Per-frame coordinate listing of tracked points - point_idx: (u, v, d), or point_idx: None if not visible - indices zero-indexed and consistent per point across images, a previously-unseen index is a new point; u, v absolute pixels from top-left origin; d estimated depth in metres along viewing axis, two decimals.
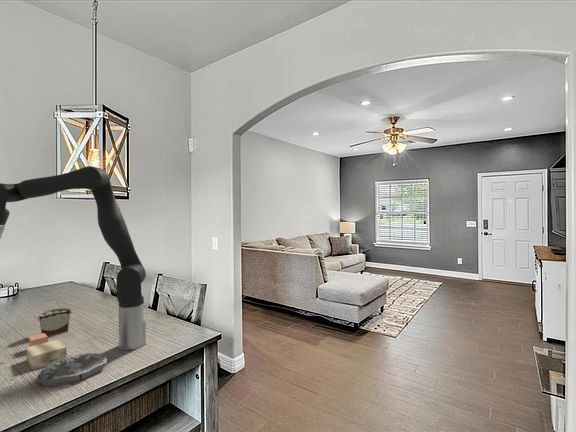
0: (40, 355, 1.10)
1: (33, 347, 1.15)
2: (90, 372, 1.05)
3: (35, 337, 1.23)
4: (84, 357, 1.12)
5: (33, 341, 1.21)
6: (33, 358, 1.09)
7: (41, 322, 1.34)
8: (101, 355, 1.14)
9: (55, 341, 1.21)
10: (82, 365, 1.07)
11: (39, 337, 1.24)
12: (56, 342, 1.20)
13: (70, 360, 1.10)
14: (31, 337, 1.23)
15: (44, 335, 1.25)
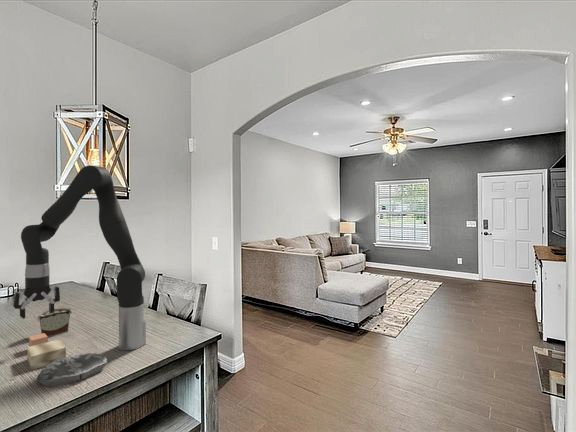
0: (39, 355, 1.10)
1: (33, 347, 1.15)
2: (90, 372, 1.05)
3: (35, 337, 1.23)
4: (84, 357, 1.12)
5: (33, 341, 1.21)
6: (32, 358, 1.09)
7: (41, 322, 1.34)
8: (101, 355, 1.14)
9: (56, 341, 1.21)
10: (82, 365, 1.07)
11: (39, 337, 1.24)
12: (56, 342, 1.20)
13: (70, 360, 1.10)
14: (31, 337, 1.23)
15: (44, 335, 1.25)
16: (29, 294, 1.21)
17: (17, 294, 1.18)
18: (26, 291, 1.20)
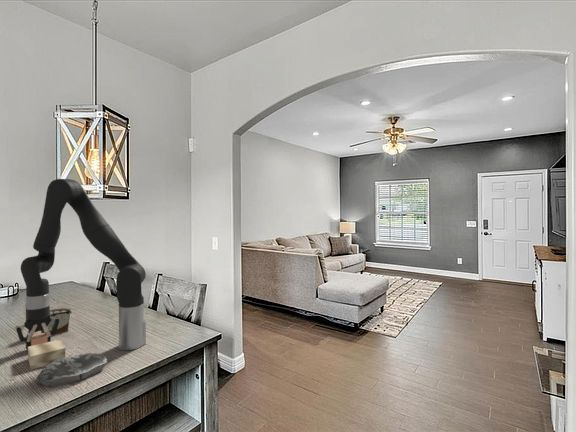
0: (38, 355, 1.10)
1: (33, 347, 1.16)
2: (90, 372, 1.05)
3: (35, 337, 1.23)
4: (84, 358, 1.12)
5: (33, 341, 1.21)
6: (31, 358, 1.09)
7: None
8: (101, 355, 1.14)
9: (56, 341, 1.21)
10: (82, 365, 1.07)
11: (39, 337, 1.24)
12: (57, 342, 1.20)
13: (70, 360, 1.10)
14: None
15: (44, 335, 1.25)
16: (30, 326, 1.21)
17: (18, 329, 1.19)
18: (26, 323, 1.21)
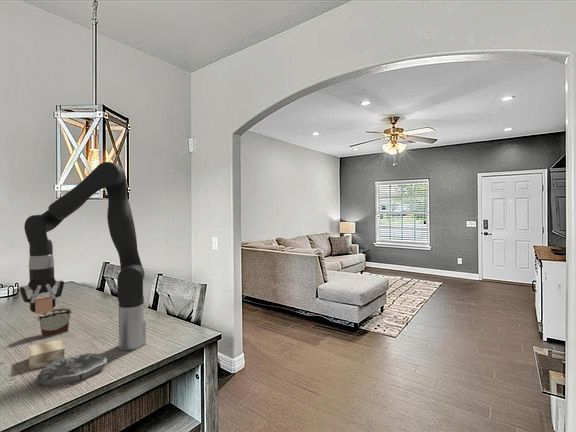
0: (37, 355, 1.10)
1: (34, 346, 1.16)
2: (90, 372, 1.05)
3: (39, 299, 1.20)
4: (84, 358, 1.12)
5: (37, 302, 1.17)
6: (30, 358, 1.09)
7: (41, 322, 1.34)
8: (101, 355, 1.14)
9: (57, 341, 1.21)
10: (82, 365, 1.07)
11: (43, 299, 1.20)
12: (57, 342, 1.20)
13: (70, 360, 1.10)
14: None
15: (49, 297, 1.22)
16: (34, 287, 1.17)
17: (22, 289, 1.15)
18: (30, 284, 1.17)
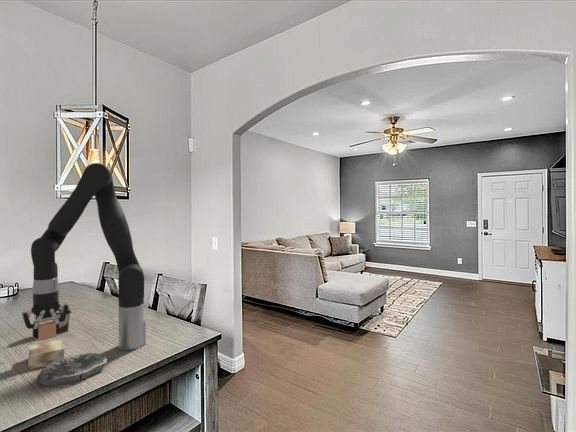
0: (36, 355, 1.10)
1: (34, 346, 1.16)
2: (90, 372, 1.05)
3: (43, 324, 1.15)
4: (84, 357, 1.12)
5: (41, 328, 1.12)
6: (29, 358, 1.09)
7: None
8: (101, 355, 1.14)
9: (57, 341, 1.21)
10: (82, 365, 1.07)
11: (47, 324, 1.15)
12: (58, 342, 1.20)
13: (70, 360, 1.10)
14: None
15: (52, 322, 1.17)
16: (37, 312, 1.13)
17: (25, 314, 1.10)
18: (33, 309, 1.12)
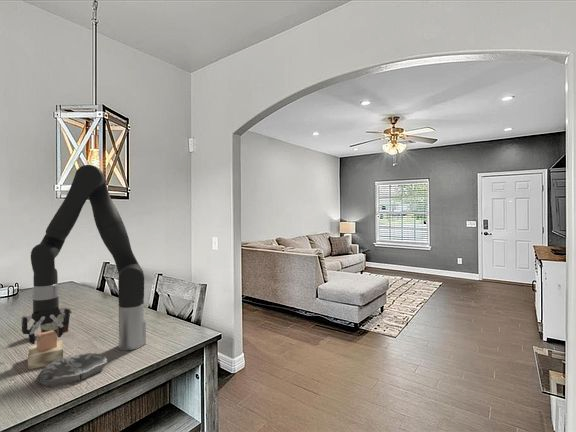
0: (35, 355, 1.10)
1: (35, 346, 1.16)
2: (90, 372, 1.05)
3: (43, 334, 1.15)
4: (84, 357, 1.12)
5: (41, 338, 1.13)
6: (29, 358, 1.09)
7: None
8: (101, 355, 1.14)
9: (58, 341, 1.21)
10: (82, 365, 1.07)
11: (48, 334, 1.15)
12: (58, 342, 1.20)
13: (70, 360, 1.10)
14: (39, 334, 1.15)
15: (53, 332, 1.17)
16: (37, 318, 1.13)
17: (24, 319, 1.10)
18: (34, 315, 1.12)
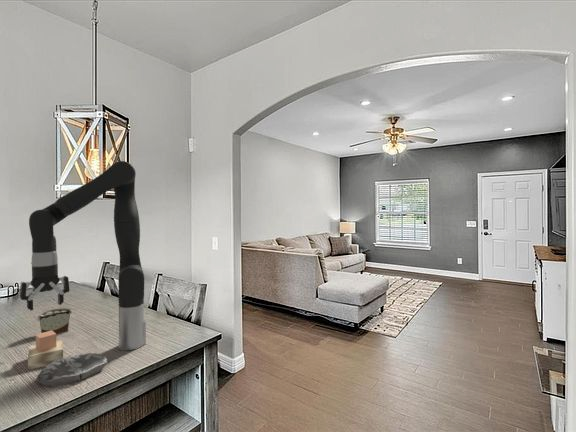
0: (35, 355, 1.10)
1: (35, 346, 1.16)
2: (90, 372, 1.05)
3: (43, 335, 1.15)
4: (84, 357, 1.12)
5: (41, 339, 1.13)
6: (29, 358, 1.09)
7: (41, 322, 1.34)
8: (101, 355, 1.14)
9: (58, 341, 1.20)
10: (82, 365, 1.07)
11: (47, 334, 1.15)
12: (58, 342, 1.20)
13: (70, 360, 1.10)
14: (38, 335, 1.15)
15: (52, 332, 1.17)
16: (36, 284, 1.12)
17: (24, 284, 1.09)
18: (33, 281, 1.12)
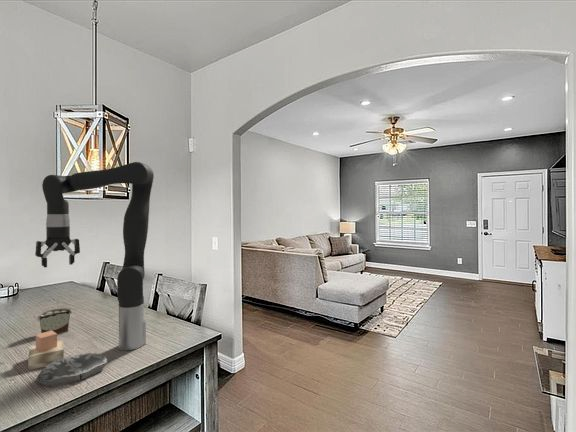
0: (36, 355, 1.10)
1: (35, 346, 1.16)
2: (90, 372, 1.05)
3: (43, 335, 1.15)
4: (84, 357, 1.12)
5: (42, 339, 1.13)
6: (29, 358, 1.09)
7: (41, 322, 1.34)
8: (101, 355, 1.14)
9: (58, 342, 1.20)
10: (82, 365, 1.07)
11: (48, 334, 1.15)
12: (58, 343, 1.20)
13: (70, 360, 1.10)
14: (38, 335, 1.15)
15: (52, 332, 1.17)
16: (50, 243, 1.22)
17: (39, 242, 1.19)
18: (47, 240, 1.21)
